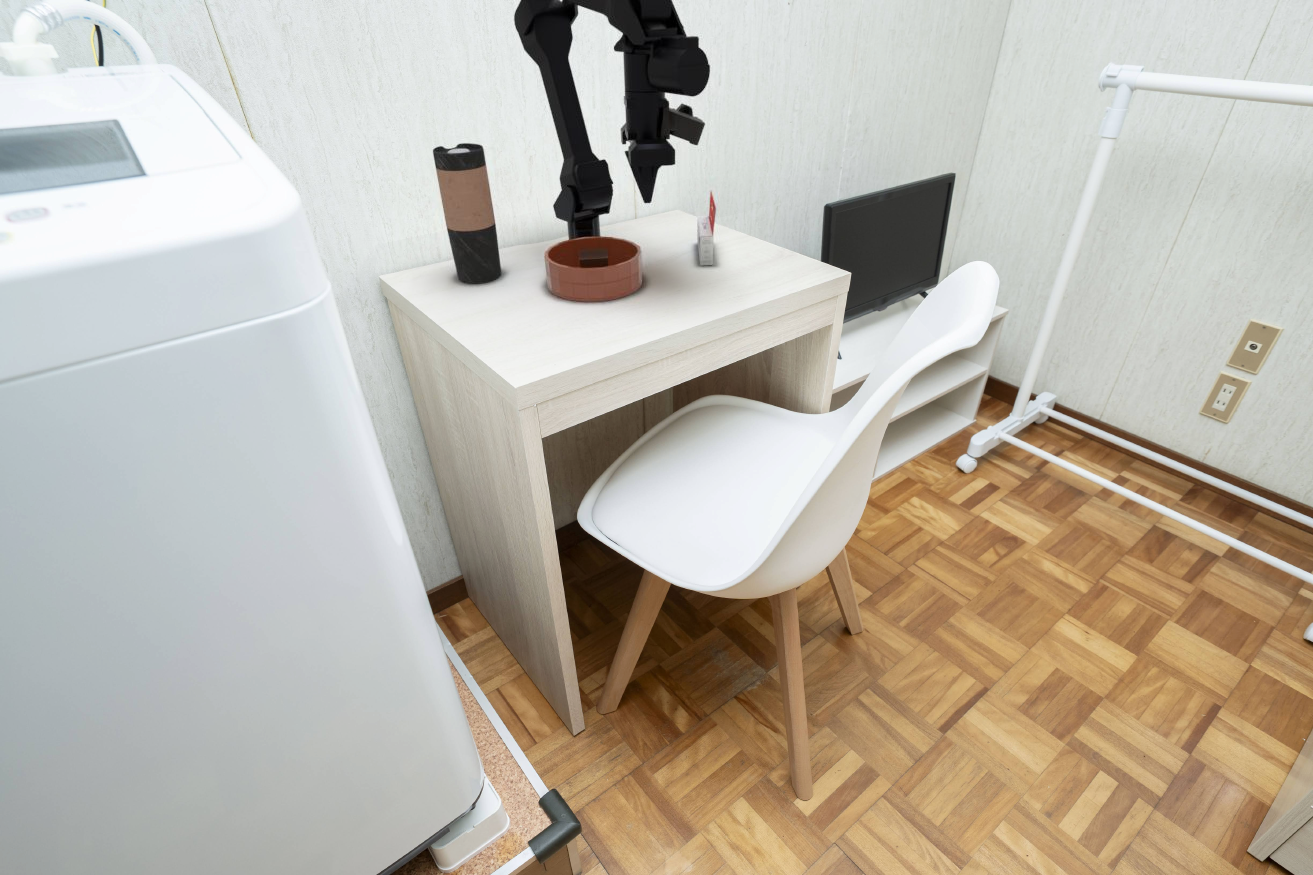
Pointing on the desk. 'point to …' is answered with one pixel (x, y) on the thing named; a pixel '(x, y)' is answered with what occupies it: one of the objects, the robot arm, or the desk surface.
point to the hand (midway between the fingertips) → (647, 202)
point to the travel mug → (468, 211)
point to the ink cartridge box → (706, 234)
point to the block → (593, 258)
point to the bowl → (593, 269)
